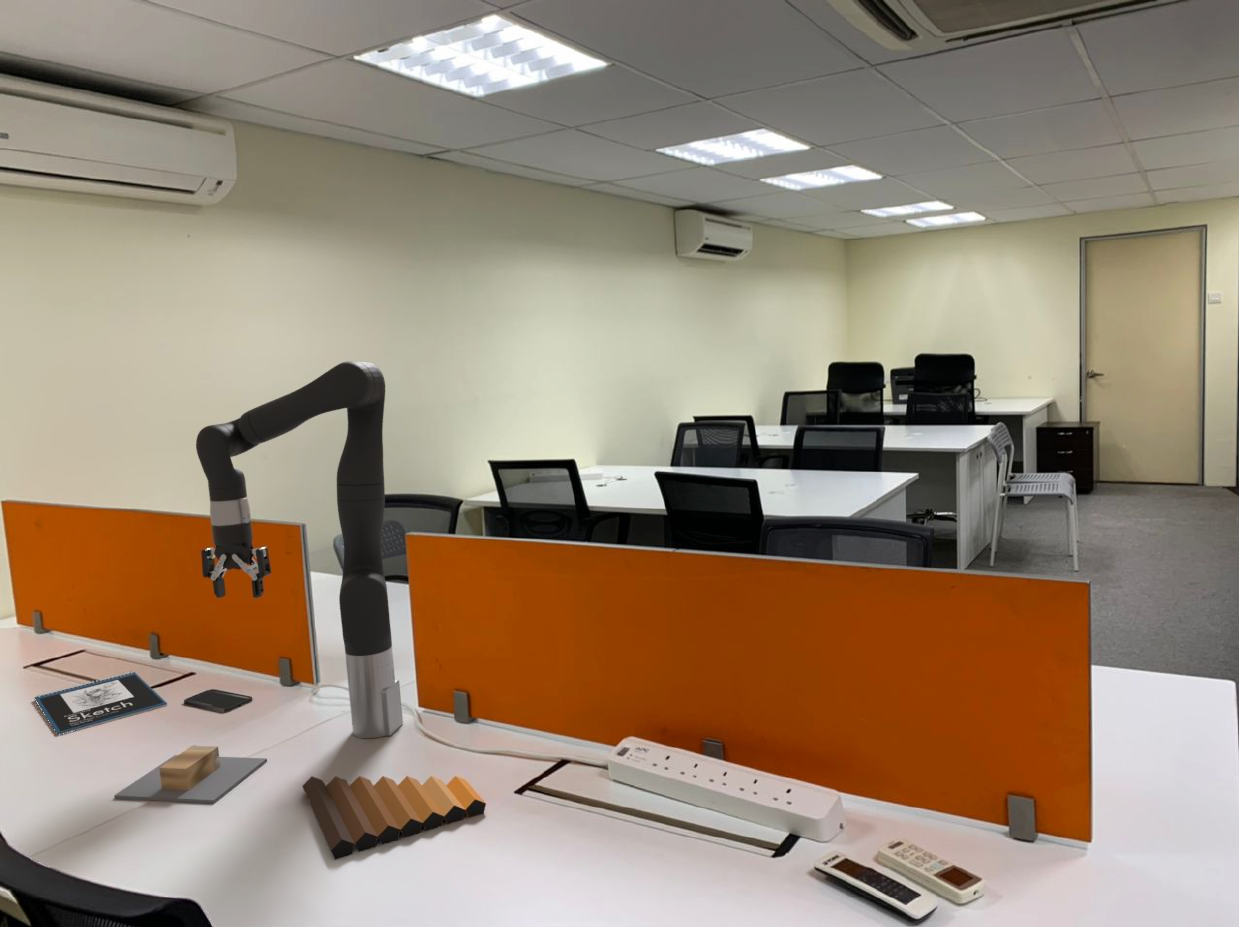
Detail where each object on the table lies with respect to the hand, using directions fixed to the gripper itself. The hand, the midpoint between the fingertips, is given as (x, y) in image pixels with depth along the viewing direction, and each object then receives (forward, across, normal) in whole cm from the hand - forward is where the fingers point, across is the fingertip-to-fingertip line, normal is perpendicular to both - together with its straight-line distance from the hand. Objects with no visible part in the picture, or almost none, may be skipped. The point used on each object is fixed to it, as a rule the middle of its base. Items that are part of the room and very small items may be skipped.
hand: (239, 596), depth 184 cm
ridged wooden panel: (+29, +45, -28) cm, 61 cm away
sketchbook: (+29, -46, +10) cm, 56 cm away
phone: (+29, -17, +12) cm, 35 cm away
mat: (+28, +3, -24) cm, 37 cm away
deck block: (+28, +3, -24) cm, 37 cm away
